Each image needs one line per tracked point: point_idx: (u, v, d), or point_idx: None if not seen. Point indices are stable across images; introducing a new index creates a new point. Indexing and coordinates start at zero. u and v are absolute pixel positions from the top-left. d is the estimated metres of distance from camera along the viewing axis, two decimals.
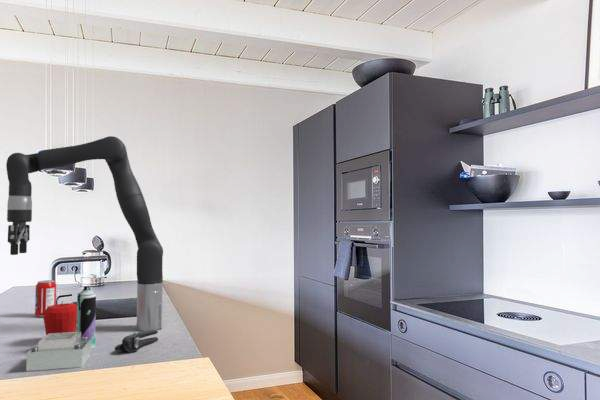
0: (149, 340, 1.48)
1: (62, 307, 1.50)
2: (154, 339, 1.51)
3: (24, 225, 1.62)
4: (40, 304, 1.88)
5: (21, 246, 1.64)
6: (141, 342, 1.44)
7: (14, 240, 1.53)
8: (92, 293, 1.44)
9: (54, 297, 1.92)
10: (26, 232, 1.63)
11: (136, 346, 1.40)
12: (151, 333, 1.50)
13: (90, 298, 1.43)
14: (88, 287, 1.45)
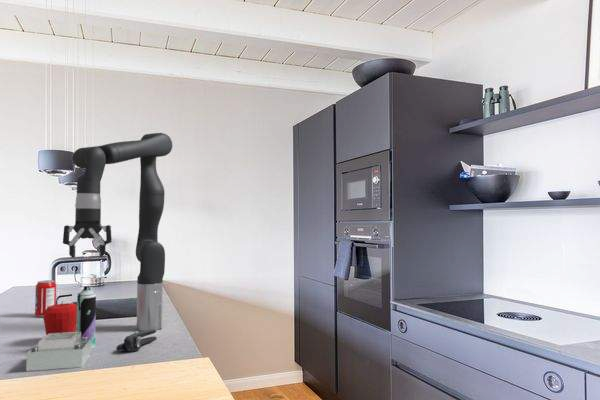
0: (149, 339, 1.49)
1: (62, 307, 1.50)
2: (153, 338, 1.52)
3: None
4: (40, 304, 1.88)
5: (74, 249, 1.44)
6: (142, 341, 1.45)
7: (111, 241, 1.48)
8: (92, 293, 1.44)
9: (54, 297, 1.92)
10: None
11: (138, 345, 1.41)
12: (150, 332, 1.50)
13: (90, 298, 1.43)
14: (88, 287, 1.45)
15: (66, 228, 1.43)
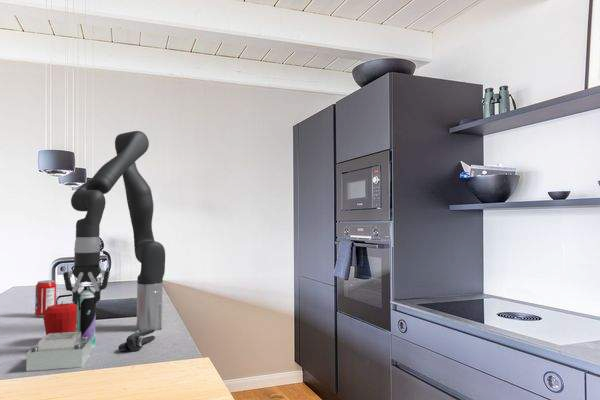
0: (148, 339, 1.50)
1: (62, 307, 1.50)
2: (152, 337, 1.52)
3: None
4: (40, 304, 1.88)
5: None
6: (142, 341, 1.46)
7: (106, 286, 1.47)
8: (92, 293, 1.44)
9: (54, 297, 1.92)
10: None
11: (140, 344, 1.42)
12: (150, 332, 1.51)
13: (90, 298, 1.43)
14: (88, 287, 1.45)
15: (65, 275, 1.42)
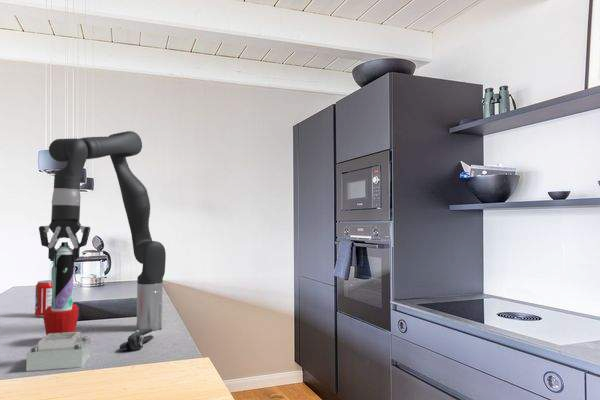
0: (148, 338, 1.50)
1: None
2: (151, 337, 1.53)
3: None
4: (40, 304, 1.88)
5: (53, 252, 1.32)
6: (142, 340, 1.46)
7: (86, 243, 1.35)
8: (70, 250, 1.32)
9: None
10: None
11: (141, 344, 1.42)
12: (148, 331, 1.52)
13: (68, 255, 1.31)
14: (66, 243, 1.33)
15: (41, 229, 1.31)
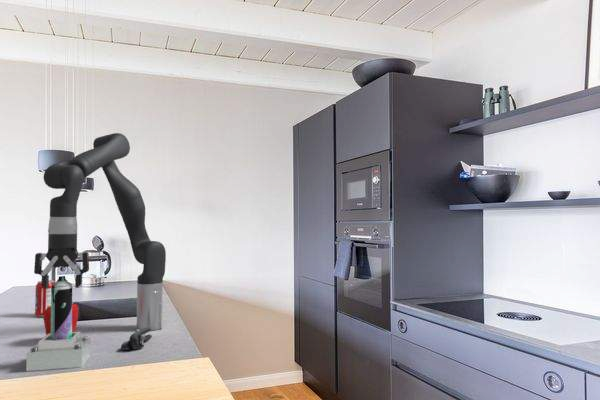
0: (147, 337, 1.51)
1: None
2: (149, 336, 1.54)
3: None
4: (40, 304, 1.88)
5: (47, 280, 1.29)
6: (143, 339, 1.47)
7: (88, 269, 1.33)
8: (68, 284, 1.30)
9: None
10: None
11: (142, 343, 1.43)
12: (147, 330, 1.53)
13: (66, 290, 1.29)
14: (63, 277, 1.30)
15: (38, 256, 1.28)
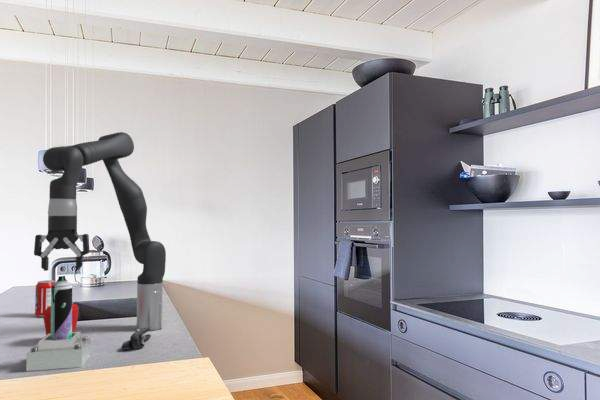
0: (147, 337, 1.52)
1: None
2: (149, 336, 1.55)
3: None
4: (40, 304, 1.88)
5: (47, 262, 1.29)
6: None
7: (88, 251, 1.33)
8: (68, 284, 1.30)
9: None
10: None
11: (143, 342, 1.44)
12: (147, 330, 1.53)
13: (66, 290, 1.29)
14: (63, 277, 1.30)
15: (38, 238, 1.28)
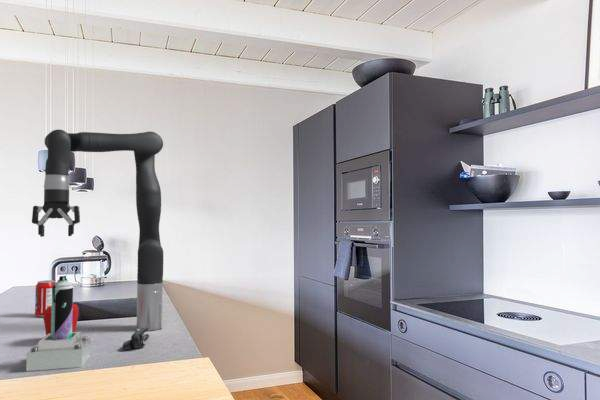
0: (146, 336, 1.52)
1: None
2: (147, 336, 1.55)
3: None
4: (40, 304, 1.88)
5: (43, 229, 1.50)
6: None
7: (79, 221, 1.54)
8: (69, 284, 1.30)
9: None
10: None
11: (143, 342, 1.44)
12: (146, 330, 1.54)
13: (66, 289, 1.29)
14: (64, 277, 1.31)
15: (35, 208, 1.49)
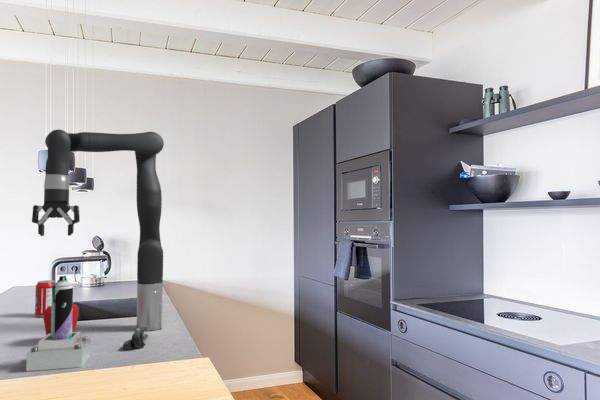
0: (145, 336, 1.53)
1: None
2: (146, 335, 1.56)
3: None
4: (40, 304, 1.88)
5: (43, 228, 1.51)
6: None
7: (79, 220, 1.55)
8: (68, 284, 1.30)
9: None
10: None
11: (144, 341, 1.45)
12: (145, 329, 1.54)
13: (66, 290, 1.29)
14: (64, 277, 1.31)
15: (35, 208, 1.50)
